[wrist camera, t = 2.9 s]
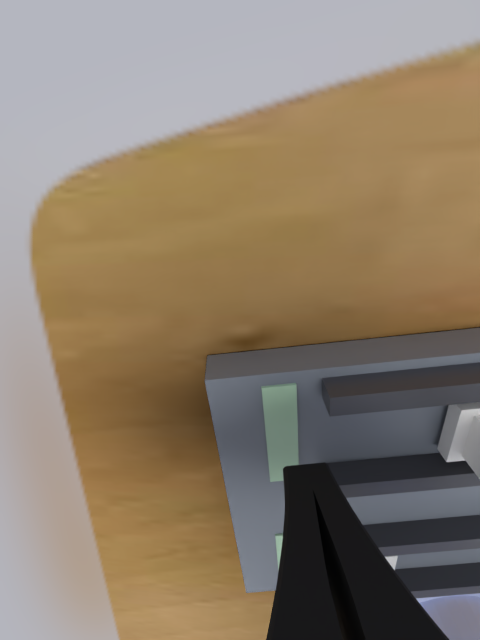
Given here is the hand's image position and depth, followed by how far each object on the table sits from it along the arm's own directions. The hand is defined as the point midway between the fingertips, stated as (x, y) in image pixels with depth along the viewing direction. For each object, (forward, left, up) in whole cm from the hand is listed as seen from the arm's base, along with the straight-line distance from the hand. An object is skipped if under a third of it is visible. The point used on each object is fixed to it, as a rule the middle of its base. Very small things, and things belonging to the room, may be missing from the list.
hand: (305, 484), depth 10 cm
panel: (-5, -6, -4) cm, 8 cm away
